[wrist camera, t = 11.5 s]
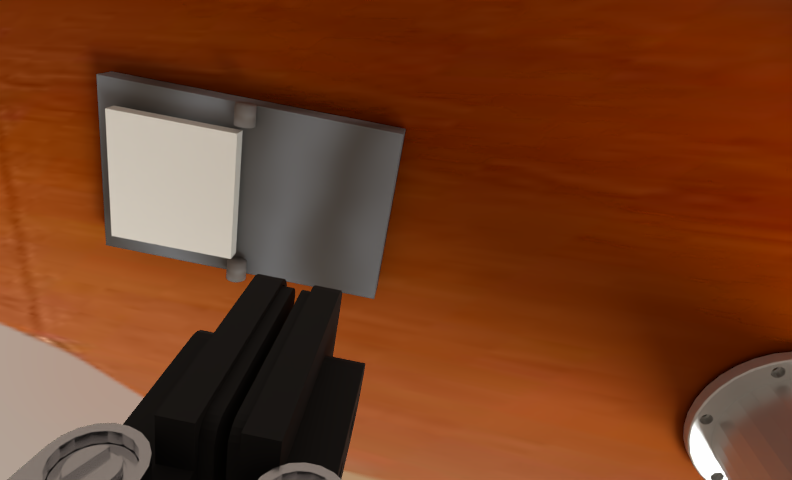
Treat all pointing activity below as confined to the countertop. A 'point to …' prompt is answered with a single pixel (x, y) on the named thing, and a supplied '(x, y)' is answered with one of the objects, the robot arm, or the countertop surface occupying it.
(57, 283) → the countertop surface
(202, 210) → the tile
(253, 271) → the board
